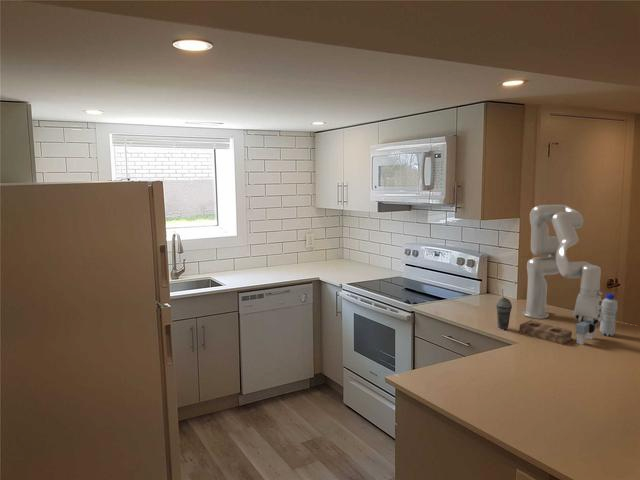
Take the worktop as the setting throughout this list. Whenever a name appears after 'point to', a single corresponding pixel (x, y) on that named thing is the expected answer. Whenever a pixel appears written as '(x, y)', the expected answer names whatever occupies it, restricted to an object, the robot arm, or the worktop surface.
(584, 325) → the grey block
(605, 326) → the bottle
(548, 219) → the robot arm
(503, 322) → the beverage cup
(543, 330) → the brown rectangular block
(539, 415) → the worktop surface
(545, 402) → the worktop surface
